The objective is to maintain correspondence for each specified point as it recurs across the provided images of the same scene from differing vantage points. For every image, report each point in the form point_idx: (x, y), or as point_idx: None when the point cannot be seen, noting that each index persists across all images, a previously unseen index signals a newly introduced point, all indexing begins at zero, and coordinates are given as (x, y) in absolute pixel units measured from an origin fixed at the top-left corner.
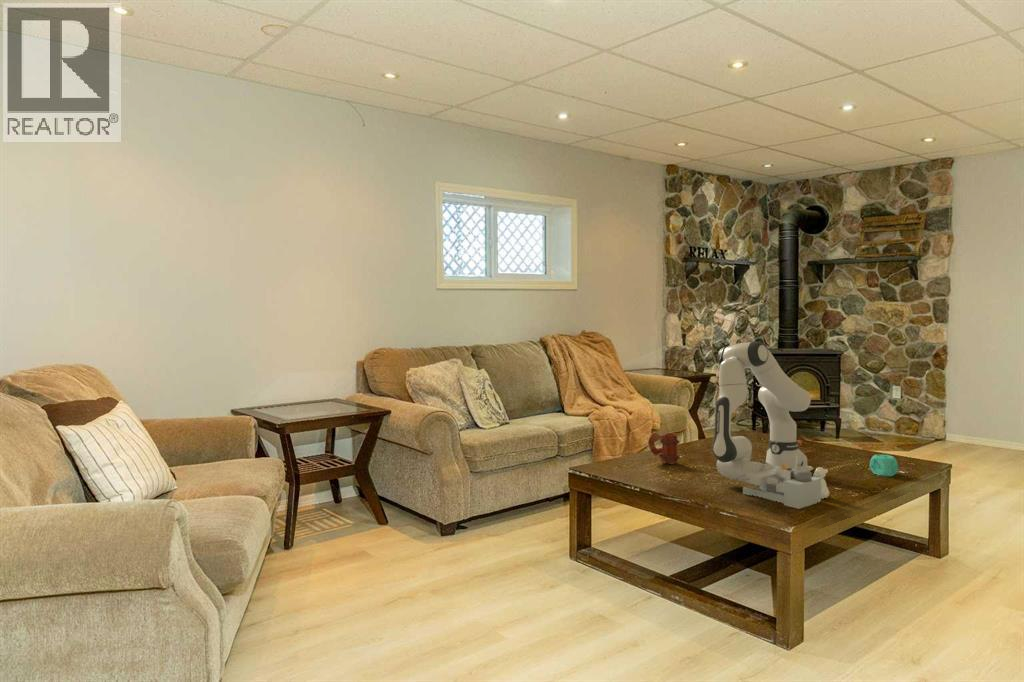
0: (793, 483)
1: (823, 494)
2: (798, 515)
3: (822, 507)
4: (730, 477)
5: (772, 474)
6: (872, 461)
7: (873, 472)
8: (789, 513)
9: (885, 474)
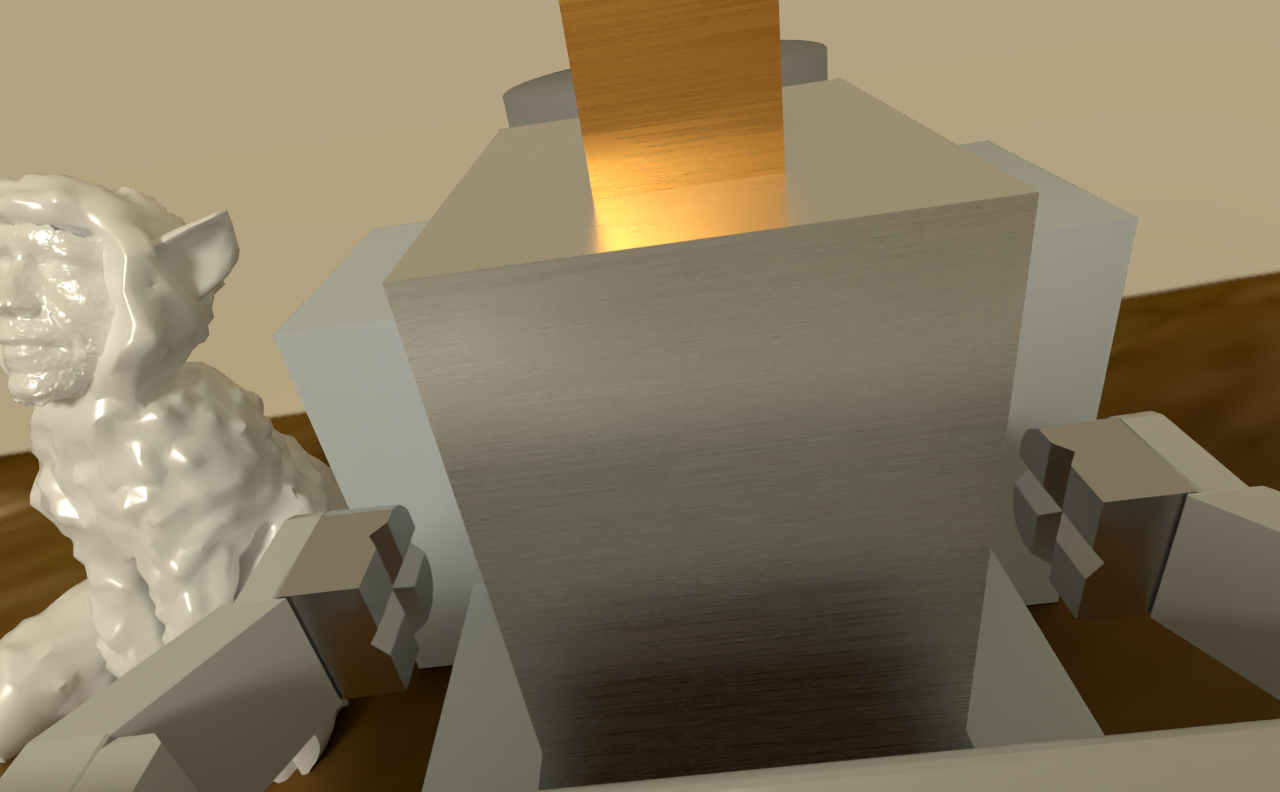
0: (1028, 165)
1: (336, 482)
2: (1122, 358)
3: None
4: None
5: (975, 749)
6: None
7: None
8: (1198, 407)
9: None
